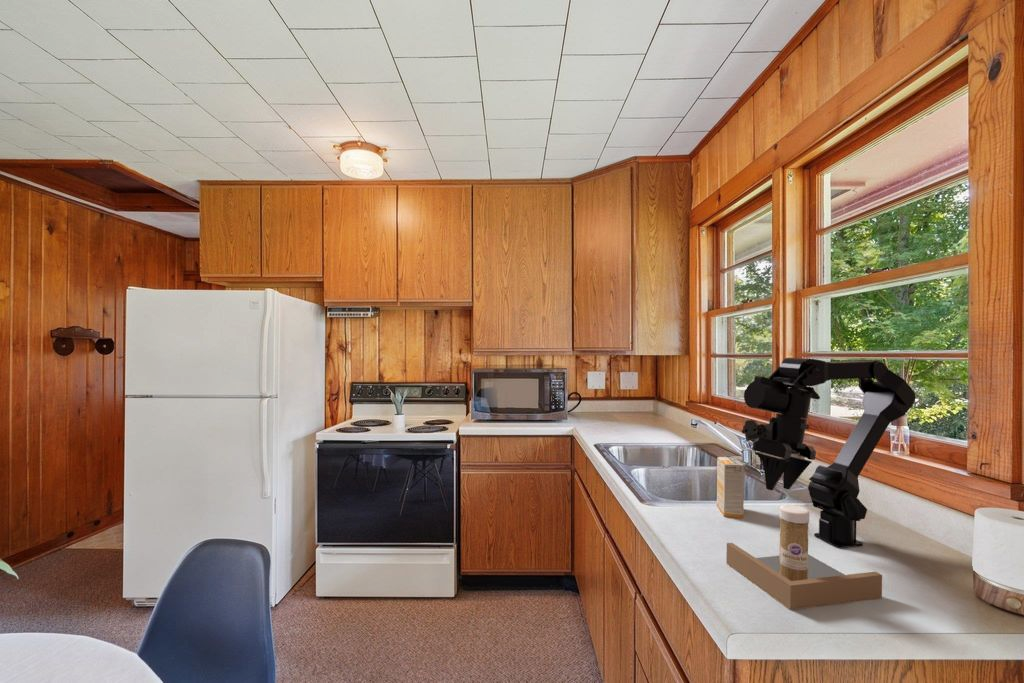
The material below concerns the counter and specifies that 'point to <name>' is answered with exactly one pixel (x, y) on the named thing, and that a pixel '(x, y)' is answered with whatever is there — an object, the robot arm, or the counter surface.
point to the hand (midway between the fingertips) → (778, 489)
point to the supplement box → (730, 486)
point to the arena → (805, 581)
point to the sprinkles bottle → (794, 542)
